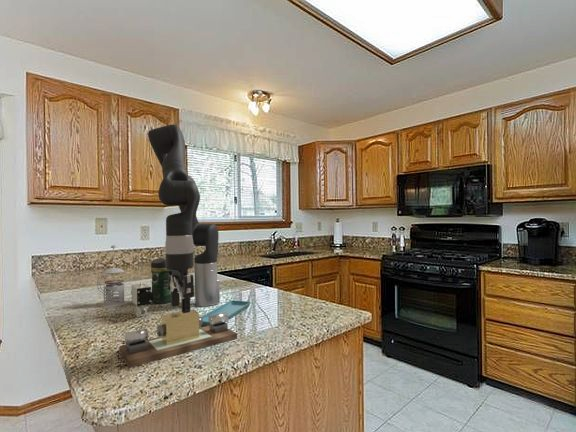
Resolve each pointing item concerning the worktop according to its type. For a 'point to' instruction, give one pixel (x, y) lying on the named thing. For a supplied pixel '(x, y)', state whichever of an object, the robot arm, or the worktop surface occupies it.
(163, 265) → the coffee jar
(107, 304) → the french press
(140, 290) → the pneumatic valve
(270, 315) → the worktop surface
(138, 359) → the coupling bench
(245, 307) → the rectangular tray
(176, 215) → the robot arm
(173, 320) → the coupling block
